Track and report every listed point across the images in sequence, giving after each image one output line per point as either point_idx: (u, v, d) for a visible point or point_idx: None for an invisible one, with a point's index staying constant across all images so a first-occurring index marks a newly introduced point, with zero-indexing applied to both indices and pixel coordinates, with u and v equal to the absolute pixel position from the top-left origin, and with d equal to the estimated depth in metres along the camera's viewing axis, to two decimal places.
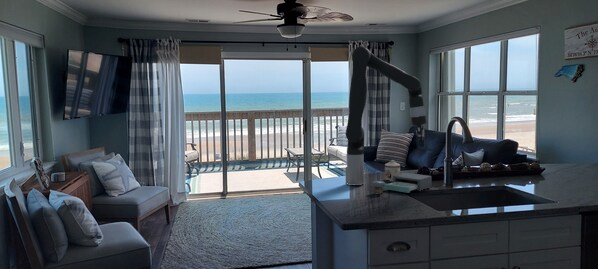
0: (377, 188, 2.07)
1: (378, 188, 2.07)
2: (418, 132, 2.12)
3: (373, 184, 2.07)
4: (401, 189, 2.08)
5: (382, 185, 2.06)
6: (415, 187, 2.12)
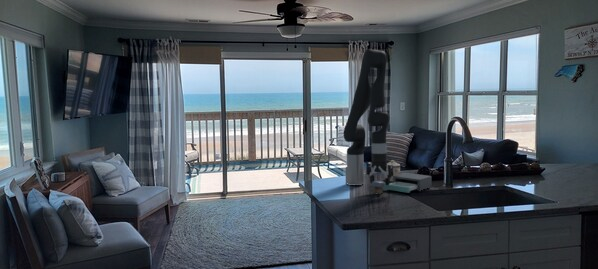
0: (377, 188, 2.07)
1: (378, 188, 2.07)
2: None
3: (373, 184, 2.07)
4: (401, 189, 2.08)
5: (382, 185, 2.06)
6: (415, 187, 2.12)
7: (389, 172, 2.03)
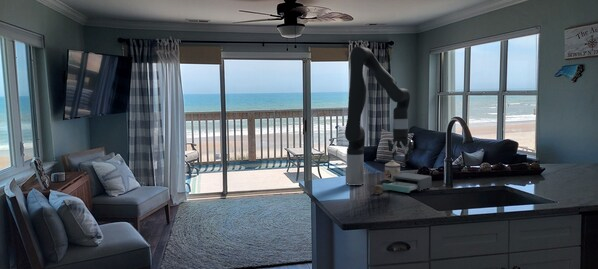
0: (377, 188, 2.07)
1: (378, 188, 2.07)
2: None
3: (396, 157, 2.11)
4: (401, 189, 2.08)
5: None
6: (415, 187, 2.12)
7: (409, 148, 2.07)
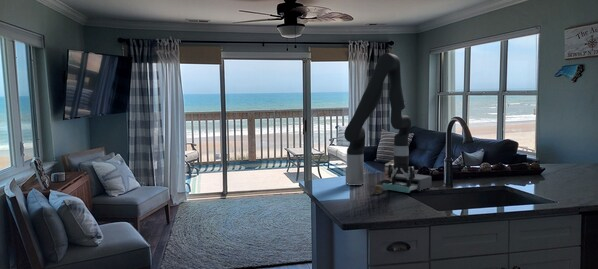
0: (377, 188, 2.07)
1: (378, 188, 2.07)
2: None
3: None
4: (401, 189, 2.08)
5: (405, 186, 2.12)
6: (415, 187, 2.12)
7: (411, 174, 2.08)
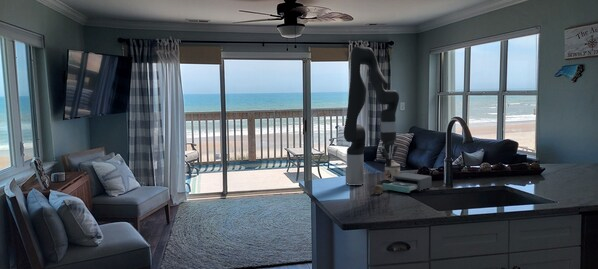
0: (377, 188, 2.07)
1: (378, 188, 2.07)
2: (382, 153, 2.02)
3: None
4: (401, 189, 2.08)
5: None
6: (415, 187, 2.12)
7: (394, 152, 2.06)
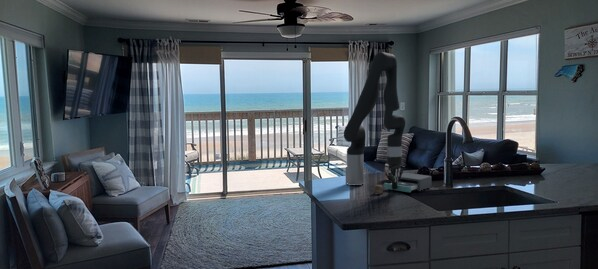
0: (377, 188, 2.07)
1: (378, 188, 2.07)
2: (388, 176, 2.07)
3: None
4: (402, 189, 2.09)
5: None
6: (416, 187, 2.13)
7: (400, 176, 2.11)
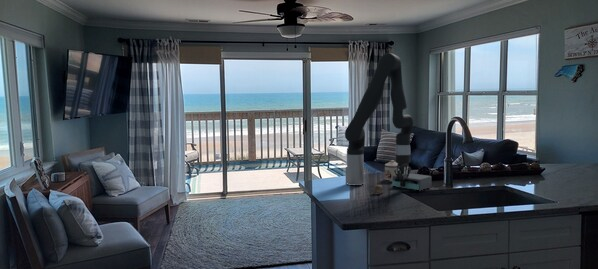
0: (377, 188, 2.07)
1: (378, 188, 2.07)
2: (397, 174, 2.12)
3: None
4: (410, 186, 2.14)
5: None
6: None
7: (408, 173, 2.17)
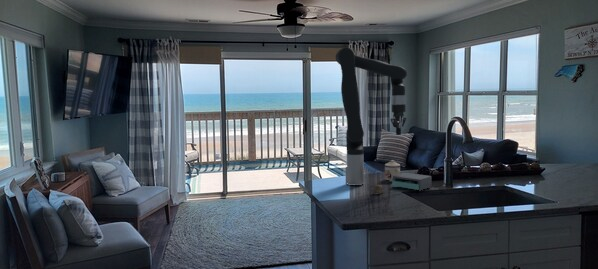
0: (377, 188, 2.07)
1: (378, 188, 2.07)
2: (393, 122, 2.29)
3: None
4: (410, 186, 2.14)
5: None
6: None
7: (403, 123, 2.34)
